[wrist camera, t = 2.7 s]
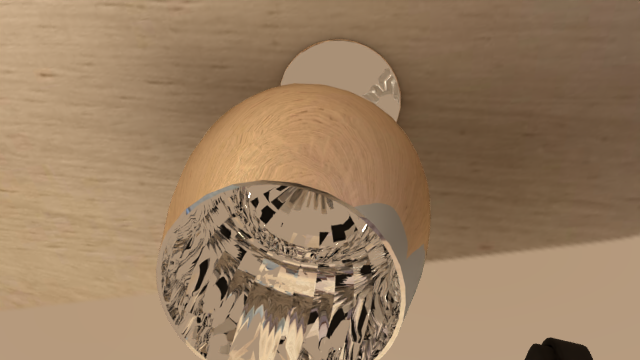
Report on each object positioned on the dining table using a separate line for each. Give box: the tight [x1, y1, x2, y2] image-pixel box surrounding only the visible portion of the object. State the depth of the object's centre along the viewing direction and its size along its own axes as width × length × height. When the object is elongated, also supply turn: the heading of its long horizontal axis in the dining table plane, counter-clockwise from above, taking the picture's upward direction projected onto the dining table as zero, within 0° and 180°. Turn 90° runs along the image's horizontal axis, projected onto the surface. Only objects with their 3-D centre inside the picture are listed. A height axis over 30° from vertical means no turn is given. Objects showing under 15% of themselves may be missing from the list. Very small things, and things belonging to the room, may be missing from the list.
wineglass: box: [156, 39, 431, 360], centre depth 17 cm, size 6×6×12 cm
